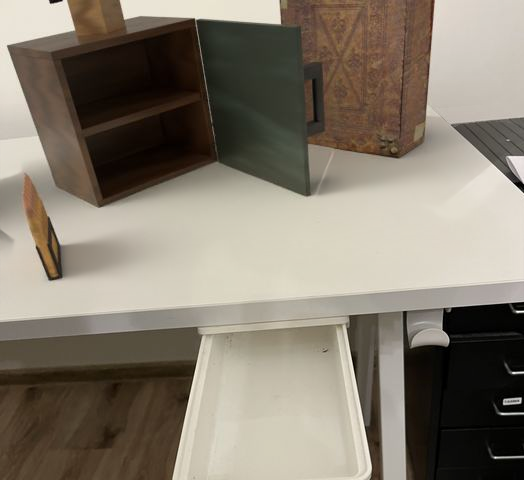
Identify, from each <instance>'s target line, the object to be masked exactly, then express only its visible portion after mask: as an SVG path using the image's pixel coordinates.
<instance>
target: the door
mask: <svg viewBox="0 0 524 480" xmlns="http://www.w3.org/2000/svg"><path fill="white" fill-rule="evenodd" d="M195 20H196V27H197V33H198V39H199V45H200V51H201V58H202V64H203V70H204V76H205V83H206V89H207V95H208V101H209V108H210V114H211V120H212V126H213V133H214V139H215V145H216V151H217V158H218V161H217V162H218V163H220V164H223V165H225V166H227V167H230V168H233V169H235V170H237V171H240V172H243V173H245V174H247V175H249V176H250V175H251V176H253V177H255V178H258V179H261V180H263V181H265V182H268V183H271V184H273V185H276V186H278V187H281V188H283V189H285V190H289V191H291V192H294V193H296V194H299V195H301V196H304V197H309V196H311V194H312V193H311V192H312V191H311V176H310V160H309V144H308V140H307V138H308V137H311V136H313V135H316V134H319V133H322V132H324V131H325V119H324V93H323V67H322V62H313V63H309V64H306V65H303V54H302V36H301V26H296V25H282V24H281V23H280V24H279V23H266V22H254V21H253V22H252V21H238V20H224V19H213V18H212V19H210V18H197V19H195ZM308 80H311V87H312V107H313V120H311V121H308V122H306V105H305V88H304V81H308Z"/></svg>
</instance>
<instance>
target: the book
mask: <svg viewBox="0 0 524 480" xmlns="http://www.w3.org/2000/svg"><path fill="white" fill-rule="evenodd" d="M278 2H279V15H280V24H282V25H296V26H301V36H302V54H303V65H306V64H309V63H313V62H322V67H323V93H324V119H325V131H324V132H322V133H319V134H316V135H313V136H311V137H308V138H307V140H308V145H313V146H318V147H319V146H320V147H326V148H333V149H338V150H344V151H351V152H359V153H365V154H371V155H376V156H377V155H378V156H384V157H392V158H397V159H399V158H400V157H402V156H403V155H405V154H407V153H408V152H410V151H412V150H413V149H415V148H416V147H418V146H419V145H420V144H422V143H424V141H425V133H426V120H427V107H428V95H429V94H428V93H429V81H430V70H431V69H430V68H431V57H432V56H431V55H432V44H433V43H432V42H433V30H434V27H433V26H434V19H435V18H434V16H435V3H436V0H279V1H278ZM304 88H305V105H306V122H308V121H311V120H313V107H312V87H311V80H308V81H304Z"/></svg>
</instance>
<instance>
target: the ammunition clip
mask: <svg viewBox="0 0 524 480" xmlns="http://www.w3.org/2000/svg"><path fill="white" fill-rule="evenodd" d="M21 202H22V207H23V210H24V213H25V216H26V220H27V222H28V227H29V231H30V234H31V235H32V238H33V240H34V243H35V250H36V252H37V255H38V257H39V259H40V263H41V265H42V267H43V269H44V272H45V275H46V277H47V280H48V281H51V280H56V279H59V278H63V268H62V253H61V244H60V242H59V239H58V236H57V234H56V230H55V228H54V226H53V223H52V220H51V218H50V216H48V213H47V211H46V208H45V206H44V203H43V200H42V199H41V197H40V195H39V193H38V191H37V189H36V186H35V184H34V182H33V180H32V179H31V177H30V176H29V175H28V174H27V173H24V174H23V186H22V196H21Z"/></svg>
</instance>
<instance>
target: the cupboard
mask: <svg viewBox="0 0 524 480" xmlns="http://www.w3.org/2000/svg"><path fill="white" fill-rule="evenodd" d="M196 20H197V19H196V18H195V17H175V16H152V15H151V16H149V15H147V16H146V15H139V16H135V17H130V18H124V21H125V25H126V27H124V28H122V29H119V30H116V31H114V32H111V33H108V34H98V35H85V36H77V35H76V31H75V29H74V30H70V31H66V32H61V33H57V34H51V35H47V36H43V37H38V38H33V39H29V40H24V41H19V42H16V43H11V44H7V45H6V47H7V51H8V53H9V57H10V60H11V62H12V65H13V68H14V71H15V73H16V77H17V79H18V83H19V85H20V88H21V90H22V91H21V92H22V93H23V96H24V99H25V102H26V105H27V107H28V110H29V113H30V116H31V119H32V122H33V125H34V128H35V130H36V133H37V136H38V139H39V142H40V144H41V148H42V151H43V153H44V156H45V159H46V162H47V164H48V167H49V171H50V173H51V176H52V179H53V181H54V185H55V187H57V188H59V189H61V190H63V191H65V192H67V193H69V194H71V195H73V196H74V197H77V198H78V199H80V200H83V201H84V202H87V203H88V204H90V205H92V206H94V207H96V208H98V209H101V208H102V207H105V206H107V205H110V204H113V203H115V202H117V201H120V200H123V199H125V198H128V197H131V196H132V195H135V194H138V193H141V192H143V191H145V190H148V189H150V188H153V187H156V186H159V185H161V184H163V183H166V182H169V181H171V180H173V179H176V178H178V177H180V176H183V175H186V174H189V173H191V172H194V171H196V170H198V169H201V168H203V167H206V166H208V165H211V164H215V163H217V162H218V156H217V150H216V144H215V137H214V131H213V125H212V119H211V112H210V106H209V100H208V94H207V87H206V81H205V75H204V68H203V62H202V56H201V50H200V43H199V37H198V31H197V25H196Z"/></svg>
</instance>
